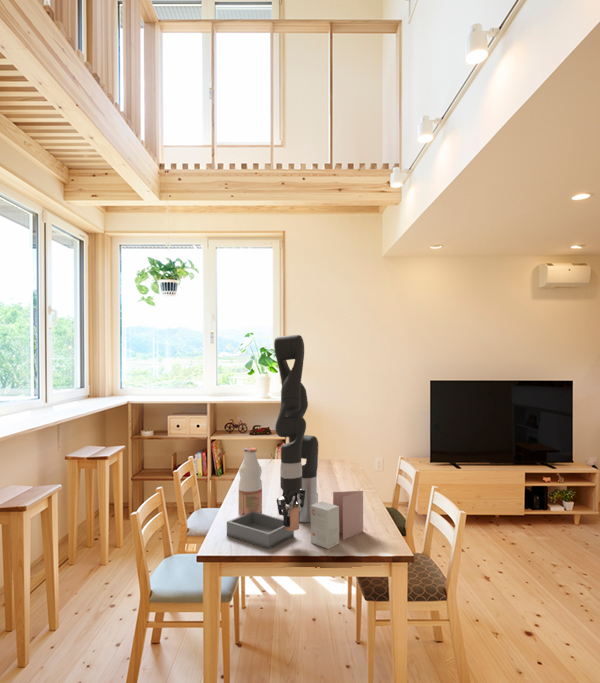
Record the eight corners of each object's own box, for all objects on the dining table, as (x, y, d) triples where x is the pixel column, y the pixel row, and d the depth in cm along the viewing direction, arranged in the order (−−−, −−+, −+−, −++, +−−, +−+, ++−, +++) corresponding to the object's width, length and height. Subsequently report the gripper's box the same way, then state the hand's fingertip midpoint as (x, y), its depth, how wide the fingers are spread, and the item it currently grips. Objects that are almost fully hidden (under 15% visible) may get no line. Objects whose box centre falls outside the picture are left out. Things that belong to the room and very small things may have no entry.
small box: (339, 543, 157) (339, 506, 158) (328, 549, 152) (327, 510, 153) (321, 537, 163) (321, 500, 163) (310, 542, 158) (310, 505, 158)
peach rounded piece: (290, 524, 159) (290, 504, 159) (301, 527, 156) (301, 506, 157) (281, 528, 155) (281, 508, 155) (293, 532, 152) (293, 511, 152)
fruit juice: (233, 519, 180) (233, 449, 181) (248, 513, 188) (249, 445, 189) (251, 524, 175) (252, 451, 176) (266, 517, 183) (266, 447, 184)
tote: (252, 524, 175) (252, 511, 176) (293, 536, 164) (293, 522, 164) (226, 535, 164) (226, 521, 164) (268, 549, 152) (268, 534, 153)
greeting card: (362, 530, 169) (362, 490, 170) (368, 538, 162) (368, 496, 162) (332, 532, 168) (332, 491, 168) (337, 540, 160) (337, 497, 161)
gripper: (294, 468, 164) (295, 515, 164) (269, 477, 152) (270, 528, 152) (311, 471, 160) (312, 519, 159) (287, 481, 148) (287, 533, 148)
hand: (291, 523), depth 156 cm, fingers closed on peach rounded piece, 5 cm apart
